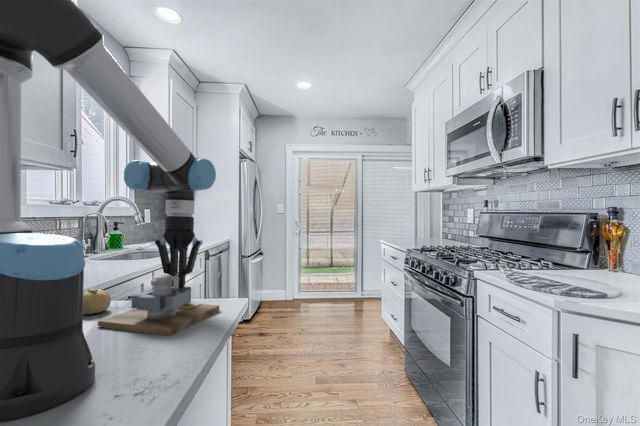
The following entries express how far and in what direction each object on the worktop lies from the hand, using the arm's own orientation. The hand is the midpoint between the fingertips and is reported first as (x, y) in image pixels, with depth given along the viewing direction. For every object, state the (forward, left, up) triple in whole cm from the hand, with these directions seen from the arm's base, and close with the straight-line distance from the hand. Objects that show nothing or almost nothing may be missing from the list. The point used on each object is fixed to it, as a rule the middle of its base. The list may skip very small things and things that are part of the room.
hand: (177, 298), depth 92 cm
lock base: (-8, -2, -3) cm, 8 cm away
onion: (-9, +20, -4) cm, 22 cm away
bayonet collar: (-7, -4, -1) cm, 8 cm away
